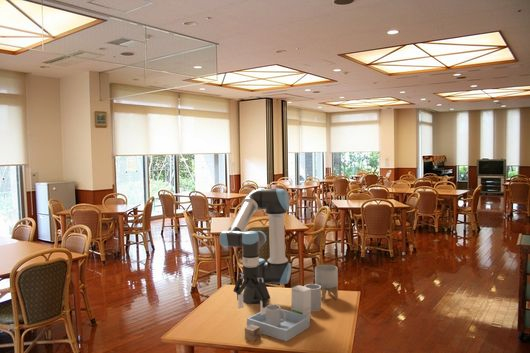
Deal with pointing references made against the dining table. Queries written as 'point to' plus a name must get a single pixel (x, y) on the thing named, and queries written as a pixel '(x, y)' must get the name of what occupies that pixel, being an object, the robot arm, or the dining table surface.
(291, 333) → the tote
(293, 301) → the skincare box
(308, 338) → the dining table surface
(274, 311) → the cup
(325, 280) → the planter
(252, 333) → the walnut cube
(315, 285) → the cup
